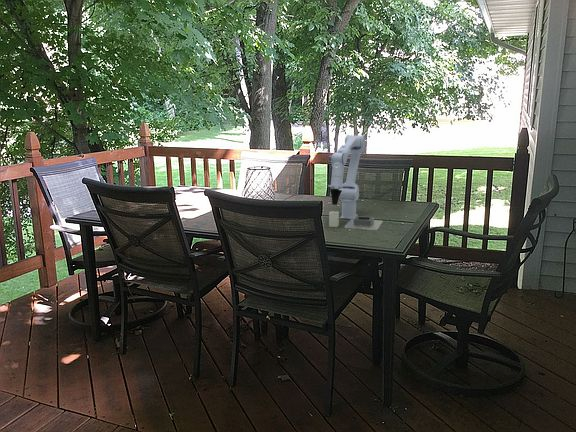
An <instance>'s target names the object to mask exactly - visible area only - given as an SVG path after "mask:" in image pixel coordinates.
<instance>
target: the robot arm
mask: <svg viewBox="0 0 576 432" xmlns="http://www.w3.org/2000/svg"><path fill="white" fill-rule="evenodd" d="M366 143H367V142H366V136H365V135H349V134H347V135H346V136H345V137H344V144H342V145H341V146H340V147H339V148H338V150H337V151H336V152H334V153H332V155H331V158H330V159H331V168H332V169H331V178H330V184H328V185H327V187H328V188H330V191H329V192H330V195H331V202H332V203H331V204H332V205H333V206H337V205H338V202H339V200H340V201H341V215H339V219H345V220H346V219H348V220H351V219H355V218H356V217H357V216H359V214H357V201H358V199H359V198H360V188H359V186H358V184H357V183H356V180H357V175H358V170H359V164H360V159H361V155H362V154H363V153H364V152H365V149H366ZM349 156H350V158H349V159H350V160H349V164H348V169H347V175H346V180H345V182H343V181H344V174H345V173H344V172H345V171H344V170H345V165H346V164H347V161H348V157H349Z"/></svg>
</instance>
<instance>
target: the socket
mask: <svg viewBox="0 0 576 432" xmlns="http://www.w3.org/2000/svg"><path fill="white" fill-rule="evenodd" d="M382 224H383V220H379V219H378V220H377V219H375V217H374V216H363V215H362V216H361V215H358V216H357V217H356V218H355V219H349V221H348V222H347V223H346V224H345V225H344V229H354V230H366V231H367V230H368V231H378V230H379V229H380V227H381V226H382Z"/></svg>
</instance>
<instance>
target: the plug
mask: <svg viewBox="0 0 576 432" xmlns="http://www.w3.org/2000/svg"><path fill="white" fill-rule="evenodd" d="M339 225H340V211H334V210H332V211H330V212H329V213H328V227H329V228H338V227H339Z"/></svg>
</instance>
